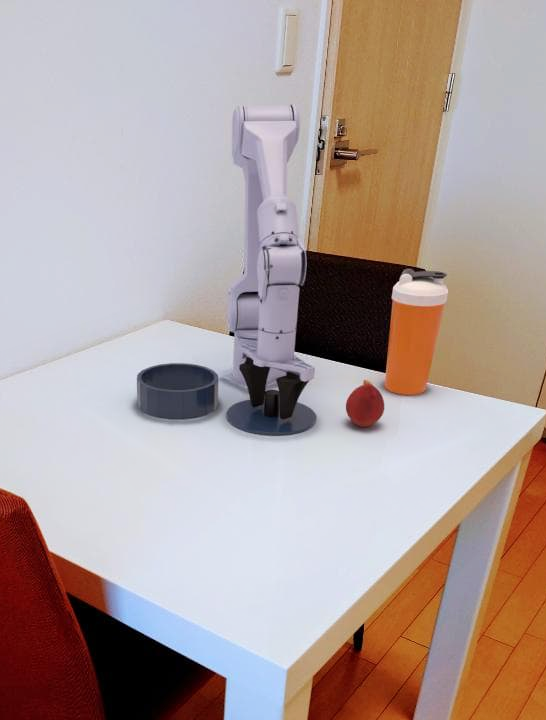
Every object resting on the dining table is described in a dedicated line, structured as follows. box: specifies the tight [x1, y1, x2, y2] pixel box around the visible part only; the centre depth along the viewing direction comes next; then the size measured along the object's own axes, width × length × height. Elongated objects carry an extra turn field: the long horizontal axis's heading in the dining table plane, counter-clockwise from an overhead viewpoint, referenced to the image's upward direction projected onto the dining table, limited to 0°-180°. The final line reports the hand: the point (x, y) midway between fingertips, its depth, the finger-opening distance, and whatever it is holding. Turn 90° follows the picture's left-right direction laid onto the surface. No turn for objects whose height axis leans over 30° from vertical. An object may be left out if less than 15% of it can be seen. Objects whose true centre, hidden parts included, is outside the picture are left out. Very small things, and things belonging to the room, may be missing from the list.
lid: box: [226, 389, 317, 437], centre depth 129 cm, size 14×14×5 cm
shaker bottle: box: [384, 268, 449, 396], centre depth 138 cm, size 9×9×20 cm
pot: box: [136, 362, 219, 421], centre depth 134 cm, size 13×13×5 cm
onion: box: [345, 379, 385, 428], centre depth 126 cm, size 6×6×8 cm
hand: (271, 411), depth 130 cm, fingers open, 6 cm apart
